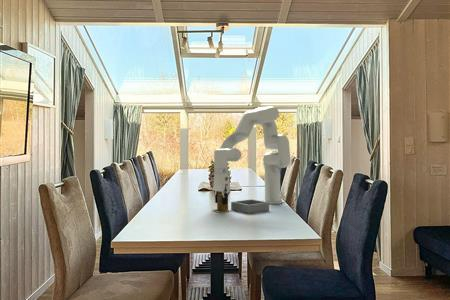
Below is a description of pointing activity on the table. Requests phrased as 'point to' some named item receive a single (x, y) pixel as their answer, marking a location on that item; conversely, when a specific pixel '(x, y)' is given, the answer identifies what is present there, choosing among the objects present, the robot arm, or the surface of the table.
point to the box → (250, 206)
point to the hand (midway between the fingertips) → (221, 203)
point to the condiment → (219, 204)
